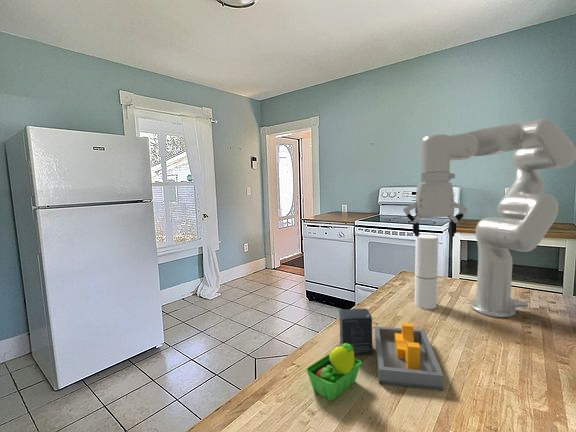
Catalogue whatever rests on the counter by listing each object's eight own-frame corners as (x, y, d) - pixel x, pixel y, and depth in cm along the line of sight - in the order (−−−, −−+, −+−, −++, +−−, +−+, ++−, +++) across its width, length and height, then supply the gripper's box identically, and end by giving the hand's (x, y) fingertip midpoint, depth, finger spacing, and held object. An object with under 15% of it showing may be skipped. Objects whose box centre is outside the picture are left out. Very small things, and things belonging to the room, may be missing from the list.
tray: (424, 341, 87) (424, 329, 86) (442, 390, 67) (443, 375, 67) (374, 337, 90) (374, 326, 89) (378, 383, 70) (378, 369, 70)
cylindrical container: (437, 303, 112) (439, 235, 108) (435, 310, 106) (436, 239, 102) (416, 299, 115) (417, 233, 112) (412, 306, 109) (413, 237, 106)
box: (367, 343, 87) (367, 307, 85) (372, 355, 81) (372, 317, 80) (339, 344, 87) (338, 308, 86) (343, 356, 81) (342, 318, 80)
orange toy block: (394, 344, 84) (394, 322, 84) (411, 345, 83) (411, 323, 83) (399, 371, 73) (400, 345, 72) (419, 373, 72) (420, 347, 71)
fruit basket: (336, 367, 77) (335, 324, 75) (367, 384, 70) (367, 337, 69) (305, 390, 69) (303, 343, 67) (336, 411, 62) (335, 359, 61)
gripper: (463, 177, 92) (461, 233, 94) (402, 179, 96) (401, 233, 98) (472, 177, 85) (470, 238, 87) (405, 179, 89) (405, 238, 91)
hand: (433, 235), depth 93 cm, fingers open, 9 cm apart
